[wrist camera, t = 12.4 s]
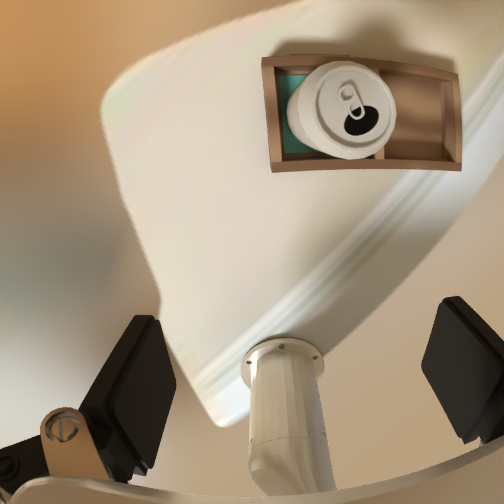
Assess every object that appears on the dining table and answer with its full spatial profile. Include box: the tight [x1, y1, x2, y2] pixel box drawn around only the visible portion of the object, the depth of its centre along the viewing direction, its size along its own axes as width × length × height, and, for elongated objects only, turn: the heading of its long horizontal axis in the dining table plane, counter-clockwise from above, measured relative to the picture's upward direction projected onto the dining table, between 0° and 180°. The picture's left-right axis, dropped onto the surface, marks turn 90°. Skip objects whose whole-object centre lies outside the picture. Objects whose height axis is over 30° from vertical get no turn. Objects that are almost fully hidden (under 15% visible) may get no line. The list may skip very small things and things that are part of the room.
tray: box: [261, 54, 462, 173], centre depth 27 cm, size 12×22×4 cm, turn 95°
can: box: [286, 61, 397, 160], centre depth 22 cm, size 8×8×12 cm
